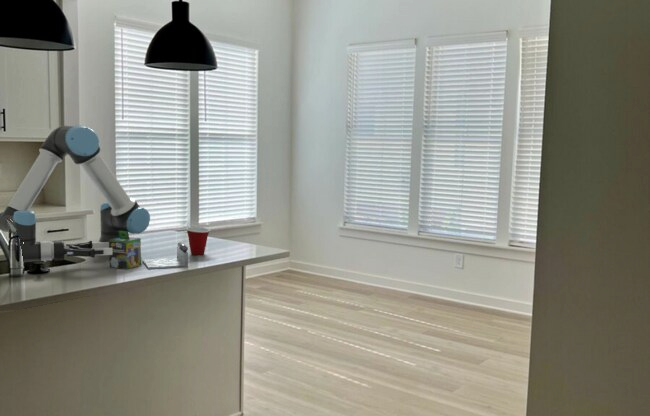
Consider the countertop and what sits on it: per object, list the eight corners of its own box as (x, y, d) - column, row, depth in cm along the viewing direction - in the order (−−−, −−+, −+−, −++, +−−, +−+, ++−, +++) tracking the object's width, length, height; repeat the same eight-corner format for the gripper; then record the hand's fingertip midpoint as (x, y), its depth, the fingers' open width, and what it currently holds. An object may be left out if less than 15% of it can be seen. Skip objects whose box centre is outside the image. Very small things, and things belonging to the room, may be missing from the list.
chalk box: (141, 265, 253) (141, 230, 251) (126, 269, 244) (126, 233, 243) (123, 263, 256) (123, 228, 254) (108, 267, 248) (108, 231, 246)
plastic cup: (204, 257, 274) (204, 230, 273) (182, 255, 276) (182, 229, 275) (213, 253, 285) (213, 227, 283) (191, 251, 287) (192, 226, 286)
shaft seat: (142, 261, 261) (142, 242, 260) (181, 259, 267) (181, 240, 267) (148, 269, 246) (148, 249, 245) (189, 266, 253) (189, 247, 252)
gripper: (53, 254, 250) (108, 251, 258) (53, 266, 227) (113, 263, 236) (52, 236, 249) (108, 234, 257) (53, 246, 226) (113, 244, 235)
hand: (110, 248), depth 247 cm, fingers open, 13 cm apart
